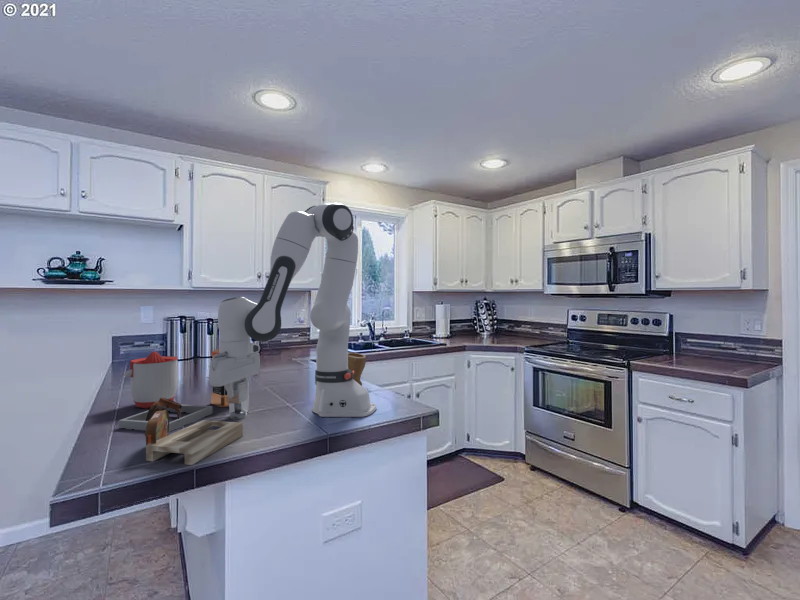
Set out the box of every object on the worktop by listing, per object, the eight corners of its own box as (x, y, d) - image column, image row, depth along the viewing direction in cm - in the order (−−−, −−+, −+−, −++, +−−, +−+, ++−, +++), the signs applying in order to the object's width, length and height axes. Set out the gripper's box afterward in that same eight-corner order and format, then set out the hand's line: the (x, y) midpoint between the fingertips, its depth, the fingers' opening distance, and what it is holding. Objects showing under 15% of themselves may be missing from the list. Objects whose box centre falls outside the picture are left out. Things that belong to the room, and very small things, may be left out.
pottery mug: (146, 419, 131) (160, 396, 134) (174, 430, 133) (187, 406, 136) (136, 420, 120) (151, 395, 123) (167, 432, 122) (181, 406, 125)
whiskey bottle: (236, 397, 156) (235, 317, 156) (249, 402, 150) (248, 318, 149) (210, 403, 148) (208, 318, 148) (222, 408, 142) (220, 319, 142)
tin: (156, 457, 98) (158, 423, 98) (142, 458, 97) (143, 424, 96) (169, 435, 112) (171, 405, 112) (157, 435, 111) (158, 406, 111)
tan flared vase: (368, 389, 169) (368, 354, 168) (340, 391, 165) (340, 355, 165) (362, 382, 183) (362, 350, 183) (336, 383, 180) (336, 351, 180)
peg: (248, 415, 123) (247, 380, 122) (240, 420, 118) (238, 383, 118) (236, 415, 124) (234, 380, 123) (227, 419, 119) (225, 383, 119)
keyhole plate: (242, 435, 113) (242, 422, 113) (191, 465, 94) (191, 449, 93) (203, 432, 116) (203, 420, 116) (146, 460, 96) (145, 445, 96)
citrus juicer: (121, 404, 147) (120, 351, 147) (174, 396, 158) (173, 347, 158) (126, 414, 135) (125, 356, 135) (183, 404, 147) (182, 351, 146)
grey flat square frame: (212, 413, 135) (212, 406, 135) (169, 432, 117) (168, 423, 117) (167, 410, 139) (167, 403, 139) (119, 428, 120) (118, 420, 120)
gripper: (221, 355, 110) (223, 404, 110) (262, 345, 130) (264, 386, 130) (202, 355, 111) (204, 403, 111) (246, 345, 131) (248, 386, 131)
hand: (237, 394), depth 121 cm, fingers closed on peg, 4 cm apart
